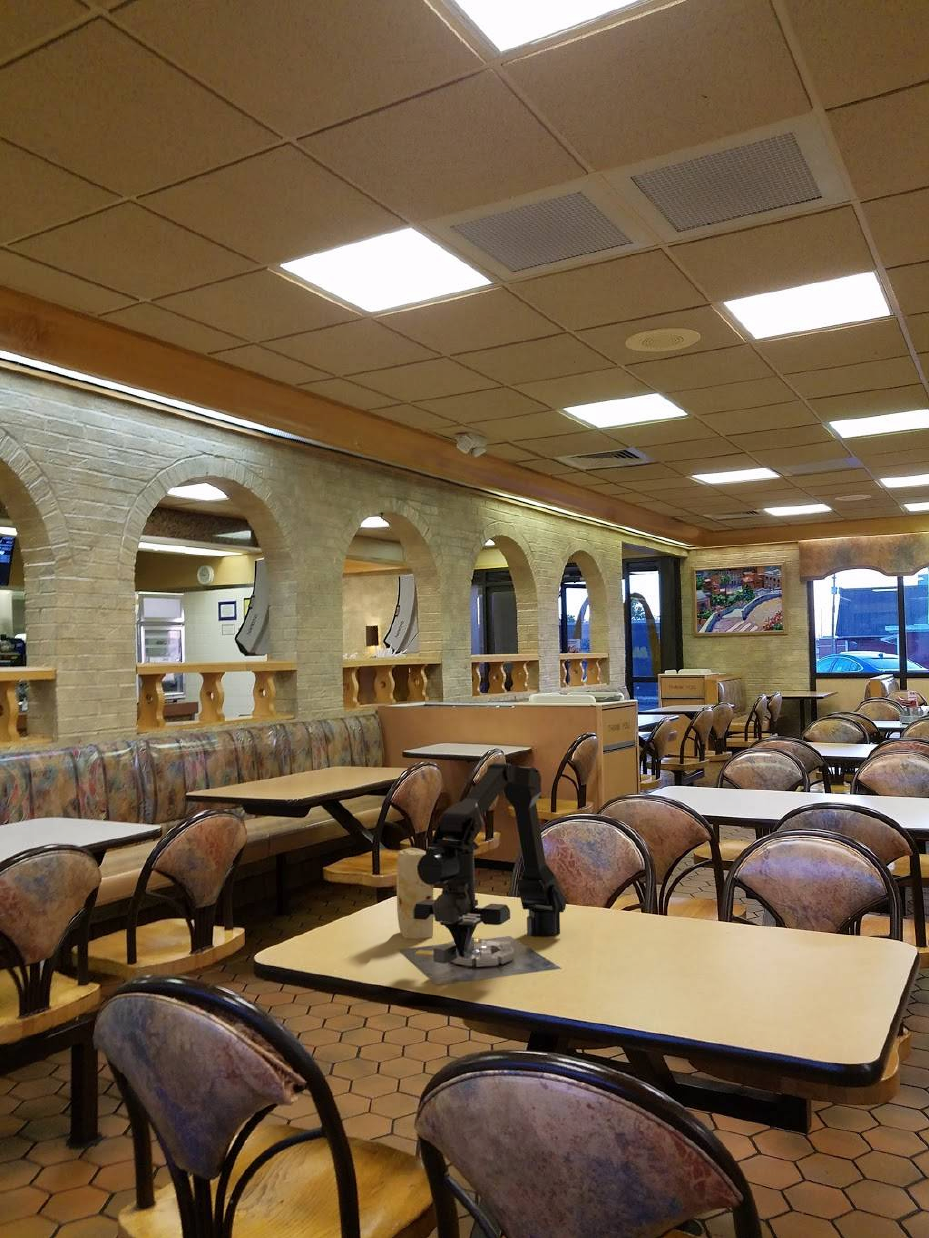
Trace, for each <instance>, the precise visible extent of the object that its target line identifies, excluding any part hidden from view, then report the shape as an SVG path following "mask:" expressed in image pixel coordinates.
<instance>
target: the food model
mask: <svg viewBox="0 0 929 1238" xmlns="http://www.w3.org/2000/svg"><path fill="white" fill-rule="evenodd" d="M424 855H426V850H423V849H421V848H418V847H417V848H416V847H408V848H404V849H402V850H401V849H400V850H399V851H398V853H397V866H396V906H397V907H396V908H397V909H396V910H397V911H396V912H397V920H398V927H399V931H400V932H399V933H400V934H401V935H402V937H403V938H406V939H414V940H416V939H417V940H418V939H419V940H420V939H430V938H433V936H434V921H435V918H434V915H432V914H431V916H430V917H429V918H428V919H427V920H422V919H414V918H413V908H414V906H415V905H416V904H417V903H419V902H421V901H423V900H425V899H430V900H434V885H428V884H425V883H424V882H423V881H422V880H421V879H420V877H419V875H418V871H417V865H418V863H419V860H420V859H421V857H422V856H424Z"/></svg>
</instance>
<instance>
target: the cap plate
mask: <svg viewBox="0 0 929 1238" xmlns="http://www.w3.org/2000/svg"><path fill="white" fill-rule="evenodd" d="M481 939H482V941H483V940H485V941H486V942H487V941H495V942H507V941H509V942H510V943H511V947H512V948H513V949H514V950H515V957H514V959H512V960H510V961H508V962H506V963H504V964H498V965H492V966H479V967H476V965H474V966H467V965H461V964H456V963H454V962H451V961H450V962H447V963H445V964H443V963H438V962H434V958H433V948H435V947H437V946H440V945H442V944H443V943H441V944H433V945H426V946H425V945H424V946H417V947H409V948H407V947H406V948H401V949H400V948H399V949H398V948H397V951H398V952H399V953H400V954H402V956H404V957H405V958H406V959H407V960H408V961H409V962H410V963H411V964H412V965H414V967H416V968H417V969H418V970H419V971H420V972H421V973H422V974H424V975H425V976H426V978H428V979H429V980H430V981H431V982H432V983H433V984H434V985H435V986H441V985H442V986H443V985H449V984H457V983H465V982H472V981H479V980H480V981H481V980H487V979H492V978H493V979H494V978H501V977H502V978H503V977H510V976H516V975H523V974H524V975H525V974H531V973H539V972H546V971H552V970H553V971H555V970H562V967H560V966H559V965H558V964H556V963H554V962H552V961H551V960H549V959H548V958H546V957H544V956H543V955H541V954H540V953H538V952H537V951H535V950H533V949H532V948H530V947H528V946H526V944H523V943H522V942H520V941H519V940H517V939H516V938H514V937H512V936H511V935H509V936H508V935H507V936H506V935H505V936H499V937H492V938H491V937H490V938H484V939H483V938H481ZM481 950H490V951H491V952H492V947H491V945H490V944H486V943H476V944H474V950H473V951H472V955H480V951H481ZM492 954H494V952H492Z"/></svg>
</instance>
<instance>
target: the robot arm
mask: <svg viewBox="0 0 929 1238" xmlns="http://www.w3.org/2000/svg"><path fill="white" fill-rule="evenodd" d="M502 792H503V795H504V798H505V799H506V800H507V802H509V804H510V805H511V807H512V808H513V810H514V811H513V812H514V815H515V821H516V826H517V827H516V828H517V833H518V839H519V845H520V847H519V848H520V851H521V852H520V853H521V858H522V863H523V871H522V873H521V876H520V878H518V879H517V882H516V883H517V887H518V896H519V898H520V903H521V906H522V910H528V916H527V917H526V932H527V933H526V934H527V935H528V936H529V937H532V938H533V937H536V938H537V937H539V938H540V937H543V938H544V937H545V938H546V937H547V938H548V937H550V938H551V937H555V936H557V935H560V934H561V922H560V921H561V917H560V916H561V915H560V913H565V910H566V906H567V898H566V897H565V896H564V894H563V892H562V890H560V888H559V885H558V882H557V877H556V875H555V873H554V872H553V871H552V869H551V868H550V867H549V866H548V865H547V863H546V862H547V861H546V857H545V849H544V844H543V838H542V832H541V825H540V819H539V814H538V813H539V812H538V807H537V802H538V799H539V798H540V795H541V793H542V776H541V774H540V771H539V770H538V769H537V768H536V767H534V766H517V765H514V764H511V763H510V762H509V763H508V762H492V763H489V764H488V766H487V769H486V772H485V773H484V774H483V776H482V777H481V778H480V779H479V780H478V781H477V783H476V784H475V786H473V787H472V789H471V790H470V791H469V793H468V794H467V795H466V797H465V798H464V799H463V800H462V801H459V802H456V803H455V804H453V805H452V804H451V806H449V807H448V808H447V809H446V810H444V811H443V812H442V813H441V815H440V817H439V820H438V822H437V825H436V827H435V830H434V833H433V835H432V838H431V841H430V844H429V847H426V848H425V851H426V855H424V856H422V857H421V859H420V860H419V863H418V865H417V871H418V875H419V877H420V879H421V880H422V881H423V882H424V883H425V884H428V885H433V886H434V885H436V884H439V883H442V886H441V887H442V890H441V894H439V895H438V896H437V898H436V899H433V900H430V899H425V900H423V901H421V902H419V903H417V904H416V905H415V906H414V908H413V918H414V919H422V920H427V919H428V918H429V917H430V916H431V914H432V915H434V921H435V922H438V923H439V924H440V925H441V926H444V927H446V929H448V930H449V932H450V934H451V936H452V939H453V941H454V942H455V944H456V947H457V950H458V952H459V955H460V957H464V956H465V954H466V951H467V948H468V946H469V943H470V940H471V937H473V935H474V932H475V930H476V928H477V926H478V925H479V924H481V923H483V925H490V926H500V925H503V924H504V923H506V922H507V921H509V920H511V910H510V908H509V906H508V904H503V903H490V904H488V905H485V906H484V907H477V906H478V905H479V900H478V899H476V885H478V878H475V877H476V876H475V857H474V856H475V854H474V853H475V851H476V850H479V848H480V845H479V844H478V843H477V842H475V840H476V838H477V837H478V835H479V833H480V831H481V830H482V829H483V826H484V824H483V817H484V815H485V813H486V812H487V811H488V810H489V808H490V807H491V806H492V804H493V803H494V801H495V800H496V799H497V797H498V796H499V795H500V794H501V793H502Z"/></svg>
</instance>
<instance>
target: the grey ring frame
mask: <svg viewBox="0 0 929 1238" xmlns="http://www.w3.org/2000/svg"><path fill="white" fill-rule="evenodd" d="M482 939H483V938H481V936H472V937H471V940H470V943H469V946H468V948H467V951H466V954H465V956H464V957H460V955H459V952H458V950H457V947H456V944H455V942H454V940H451V941H449V942H447V943H446V942H445V943H441V944H442V945H440V944H439V945H440V946H437V947H435V948H433V958H434V962H438V963H443V964H445V963H447V962H450V961H451V962H454V963H456V964H461V965H467V966H474V965H476V967H479V966H492V965H498V964H504V963H506V962H508V961H510V960H512V959H514V957H515V950H514V949H513V948H512V947H511V943H510V942H509V941H507V942H495V941H487V942H486V941H485V940H483V941H482ZM476 943H486V944H490V945H491V947H492V952H494V954H492V952H491V951H490V950H481V951H480V955H472V951H473V950H474V944H476Z"/></svg>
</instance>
